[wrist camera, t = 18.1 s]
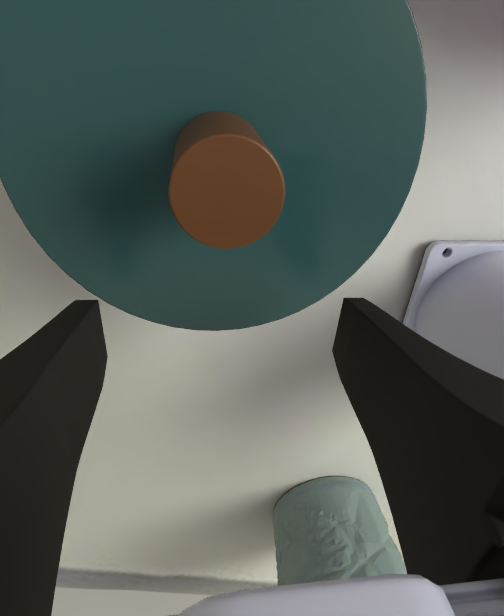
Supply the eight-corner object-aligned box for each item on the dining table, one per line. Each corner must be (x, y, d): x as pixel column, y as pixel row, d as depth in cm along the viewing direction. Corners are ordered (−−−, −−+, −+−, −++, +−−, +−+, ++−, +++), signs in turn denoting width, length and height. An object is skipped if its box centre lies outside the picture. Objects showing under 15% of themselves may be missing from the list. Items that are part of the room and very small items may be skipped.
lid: (467, -100, 10) (628, -184, 6) (364, 311, 17) (414, 387, 13) (-75, -168, 8) (-285, -334, 5) (51, 318, 15) (5, 407, 11)
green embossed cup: (382, 523, 36) (453, 705, 26) (273, 550, 36) (302, 740, 27) (376, 456, 31) (464, 656, 21) (247, 488, 31) (272, 700, 21)
